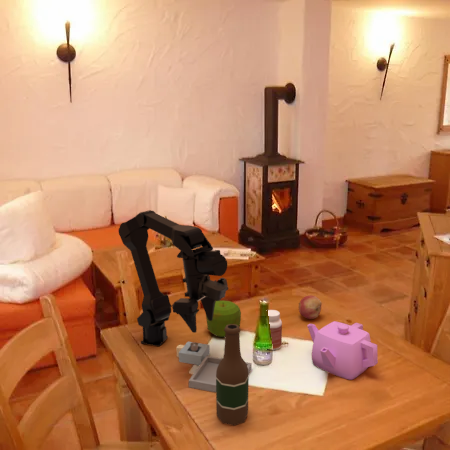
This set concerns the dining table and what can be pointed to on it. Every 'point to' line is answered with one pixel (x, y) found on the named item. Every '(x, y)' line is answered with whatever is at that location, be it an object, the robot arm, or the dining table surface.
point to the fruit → (310, 307)
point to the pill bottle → (275, 328)
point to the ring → (192, 353)
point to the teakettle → (342, 349)
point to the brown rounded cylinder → (194, 347)
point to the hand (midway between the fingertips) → (202, 326)
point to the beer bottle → (232, 381)
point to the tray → (208, 374)
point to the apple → (223, 317)
